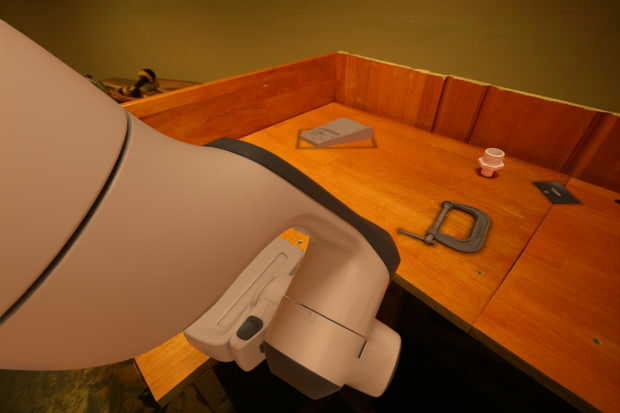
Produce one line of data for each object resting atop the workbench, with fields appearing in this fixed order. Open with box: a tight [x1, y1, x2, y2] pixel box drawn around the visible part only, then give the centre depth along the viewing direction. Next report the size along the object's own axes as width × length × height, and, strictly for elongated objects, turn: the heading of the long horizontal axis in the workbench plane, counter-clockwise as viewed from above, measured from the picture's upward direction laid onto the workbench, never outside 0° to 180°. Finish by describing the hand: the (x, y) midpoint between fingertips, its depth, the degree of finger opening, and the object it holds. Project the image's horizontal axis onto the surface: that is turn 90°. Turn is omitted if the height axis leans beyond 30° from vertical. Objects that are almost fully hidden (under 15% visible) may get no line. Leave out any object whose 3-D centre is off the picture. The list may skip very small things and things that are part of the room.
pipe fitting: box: [477, 147, 506, 177], centre depth 92 cm, size 6×7×8 cm
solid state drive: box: [533, 181, 581, 205], centre depth 85 cm, size 7×10×1 cm
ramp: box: [298, 117, 374, 149], centre depth 114 cm, size 28×16×5 cm, turn 89°
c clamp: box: [398, 199, 491, 254], centre depth 76 cm, size 20×17×3 cm
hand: (211, 268), depth 48 cm, fingers open, 8 cm apart
